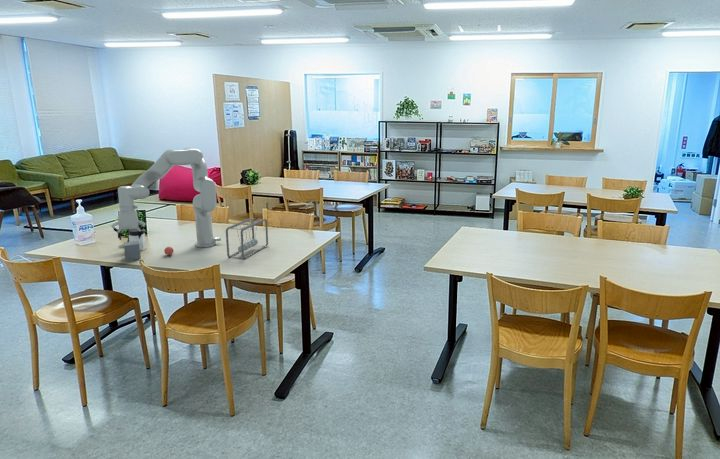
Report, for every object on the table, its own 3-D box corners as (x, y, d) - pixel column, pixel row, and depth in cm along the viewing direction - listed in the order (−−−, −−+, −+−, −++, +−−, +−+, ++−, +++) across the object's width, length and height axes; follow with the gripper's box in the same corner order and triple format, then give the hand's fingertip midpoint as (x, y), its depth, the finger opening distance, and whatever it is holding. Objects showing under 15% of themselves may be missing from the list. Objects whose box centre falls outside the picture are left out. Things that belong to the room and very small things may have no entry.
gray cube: (140, 255, 286) (138, 240, 284) (140, 259, 279) (139, 244, 277) (125, 257, 283) (124, 242, 281) (125, 261, 276) (123, 245, 274)
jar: (131, 252, 293) (129, 232, 290) (129, 248, 299) (126, 229, 296) (147, 249, 297) (145, 230, 294) (145, 246, 304) (143, 227, 301)
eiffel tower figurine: (132, 242, 316) (129, 221, 312) (145, 243, 313) (142, 222, 309) (113, 248, 302) (111, 227, 298) (127, 250, 299) (124, 228, 295)
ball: (173, 253, 290) (172, 245, 289) (174, 255, 286) (173, 247, 285) (164, 254, 288) (163, 246, 287) (164, 256, 284) (164, 248, 283)
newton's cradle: (243, 260, 278) (241, 229, 274) (227, 258, 281) (225, 228, 277) (268, 246, 306) (267, 217, 301) (253, 244, 309) (251, 216, 304)
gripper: (144, 206, 281) (146, 235, 285) (109, 208, 274) (112, 238, 278) (144, 208, 274) (146, 239, 278) (109, 210, 267) (112, 241, 271)
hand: (129, 238), depth 278 cm, fingers open, 9 cm apart
